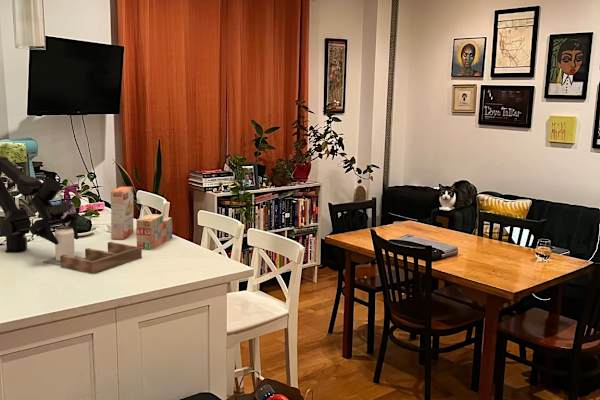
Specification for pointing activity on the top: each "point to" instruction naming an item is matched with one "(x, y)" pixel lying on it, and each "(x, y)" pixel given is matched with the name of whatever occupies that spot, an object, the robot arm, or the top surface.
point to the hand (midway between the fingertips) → (67, 241)
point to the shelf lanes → (102, 258)
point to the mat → (55, 262)
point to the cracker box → (121, 212)
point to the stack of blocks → (153, 231)
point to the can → (64, 242)
